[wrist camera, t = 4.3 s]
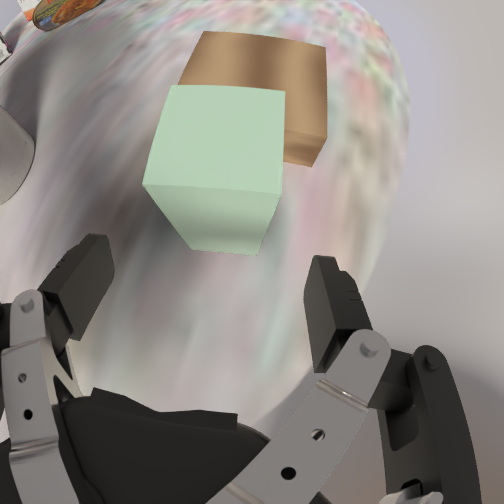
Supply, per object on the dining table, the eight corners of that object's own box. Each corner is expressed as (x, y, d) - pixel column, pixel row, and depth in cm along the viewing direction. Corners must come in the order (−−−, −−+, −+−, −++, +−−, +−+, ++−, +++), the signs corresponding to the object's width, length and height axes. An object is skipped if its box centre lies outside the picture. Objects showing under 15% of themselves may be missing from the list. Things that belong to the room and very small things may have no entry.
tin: (41, 37, 27) (25, 10, 19) (42, 31, 27) (28, 5, 19) (110, 1, 29) (101, -31, 21) (110, -4, 29) (101, -33, 21)
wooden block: (176, 149, 23) (164, 116, 18) (206, 64, 25) (203, 31, 20) (310, 168, 23) (326, 138, 18) (314, 79, 26) (325, 47, 21)
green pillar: (191, 249, 21) (142, 184, 9) (199, 189, 22) (171, 85, 10) (256, 255, 21) (281, 194, 10) (261, 194, 22) (285, 91, 10)
